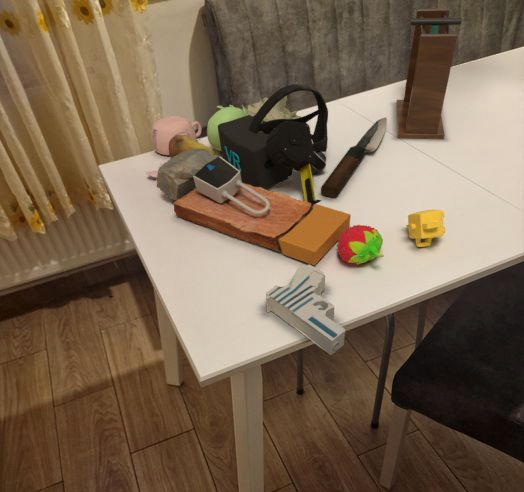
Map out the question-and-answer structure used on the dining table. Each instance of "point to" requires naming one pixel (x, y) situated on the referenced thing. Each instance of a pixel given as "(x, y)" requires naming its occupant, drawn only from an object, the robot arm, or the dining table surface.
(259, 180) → the virtual reality headset
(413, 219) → the yellow studded block
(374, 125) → the kitchen knife
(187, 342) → the dining table surface
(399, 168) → the dining table surface
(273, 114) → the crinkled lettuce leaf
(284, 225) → the wooden plank
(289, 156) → the tape measure
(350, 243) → the strawberry
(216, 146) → the green curved piece
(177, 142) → the fruit
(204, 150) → the stone
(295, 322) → the toy gun
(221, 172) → the padlock
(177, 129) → the mug
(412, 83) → the wooden rack
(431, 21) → the green t-shaped stand
